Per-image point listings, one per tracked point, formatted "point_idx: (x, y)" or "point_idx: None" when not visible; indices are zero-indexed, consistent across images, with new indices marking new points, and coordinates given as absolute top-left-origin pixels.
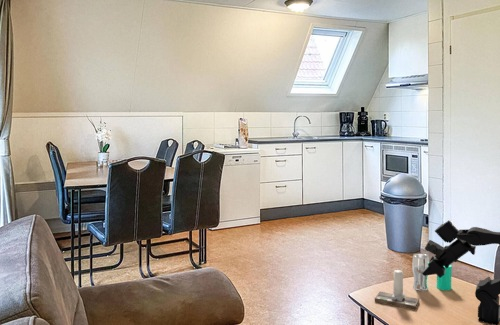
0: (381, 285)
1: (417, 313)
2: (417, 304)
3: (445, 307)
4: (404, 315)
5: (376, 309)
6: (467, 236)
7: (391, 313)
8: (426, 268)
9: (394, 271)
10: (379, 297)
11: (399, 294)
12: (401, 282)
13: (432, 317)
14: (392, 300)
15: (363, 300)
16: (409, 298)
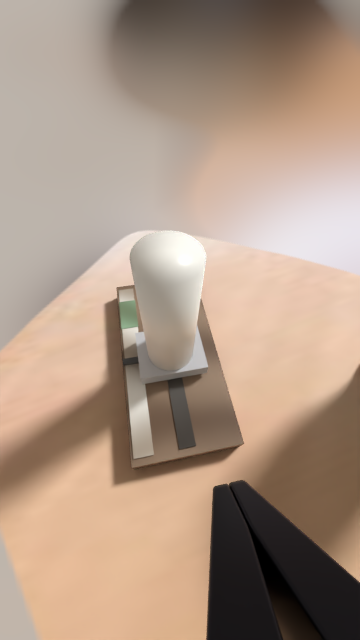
0: (278, 261)
1: (98, 498)
2: (195, 455)
3: None
4: (41, 448)
5: (51, 327)
6: None
7: (37, 388)
8: (303, 572)
9: (153, 237)
10: (133, 297)
11: (151, 357)
12: (157, 328)
13: (87, 616)
14: (134, 346)
15: (108, 267)
16: (211, 399)
